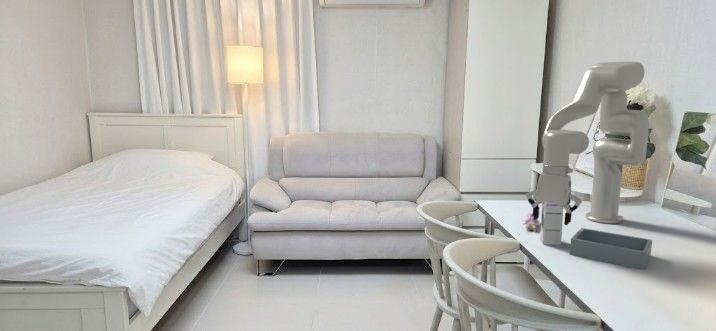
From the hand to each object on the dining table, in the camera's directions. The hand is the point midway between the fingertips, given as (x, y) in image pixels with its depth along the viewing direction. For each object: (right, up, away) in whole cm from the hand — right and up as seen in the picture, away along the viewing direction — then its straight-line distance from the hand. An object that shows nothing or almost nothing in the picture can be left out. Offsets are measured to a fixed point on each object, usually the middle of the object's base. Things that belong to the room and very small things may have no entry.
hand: (551, 221), depth 154 cm
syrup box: (0, -7, +2) cm, 7 cm away
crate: (+14, -9, -10) cm, 19 cm away
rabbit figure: (+1, -4, +18) cm, 19 cm away
